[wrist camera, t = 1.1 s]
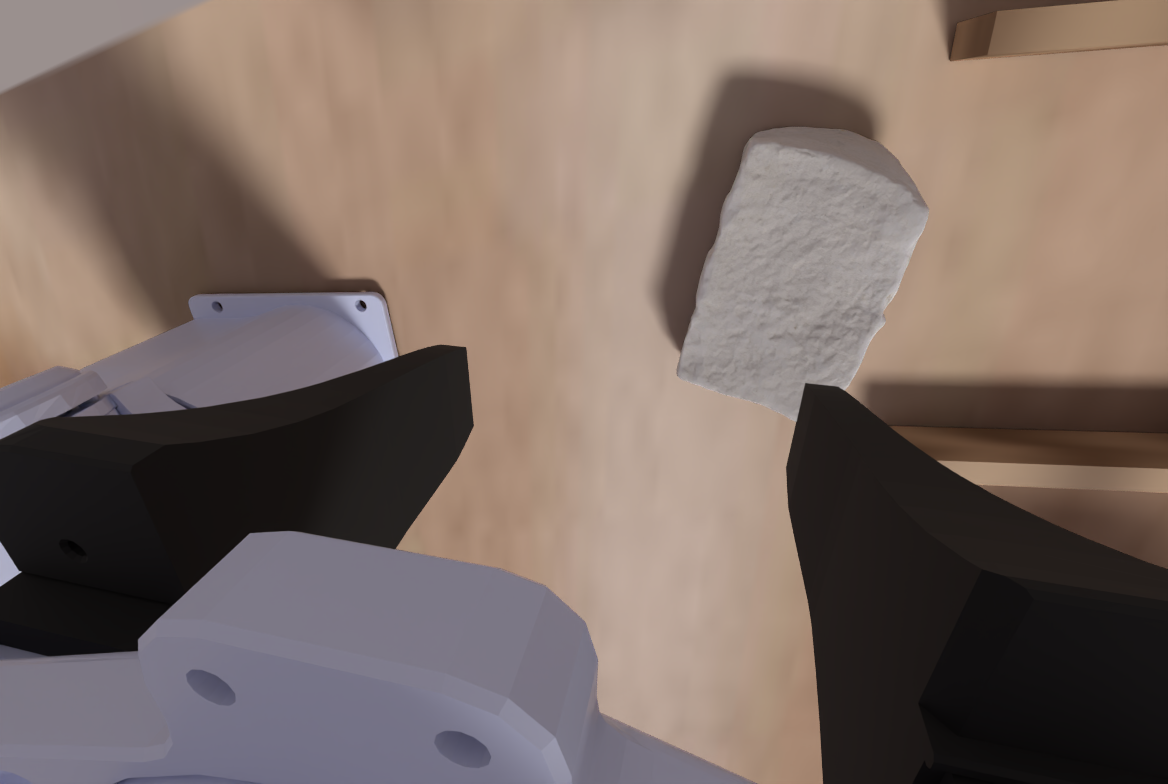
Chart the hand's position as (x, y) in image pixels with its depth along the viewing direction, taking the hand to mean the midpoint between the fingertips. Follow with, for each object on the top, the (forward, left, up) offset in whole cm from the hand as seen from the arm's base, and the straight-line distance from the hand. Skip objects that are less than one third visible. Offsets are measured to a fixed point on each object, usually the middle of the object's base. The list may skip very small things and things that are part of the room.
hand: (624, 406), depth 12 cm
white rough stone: (+5, 0, -12) cm, 13 cm away
